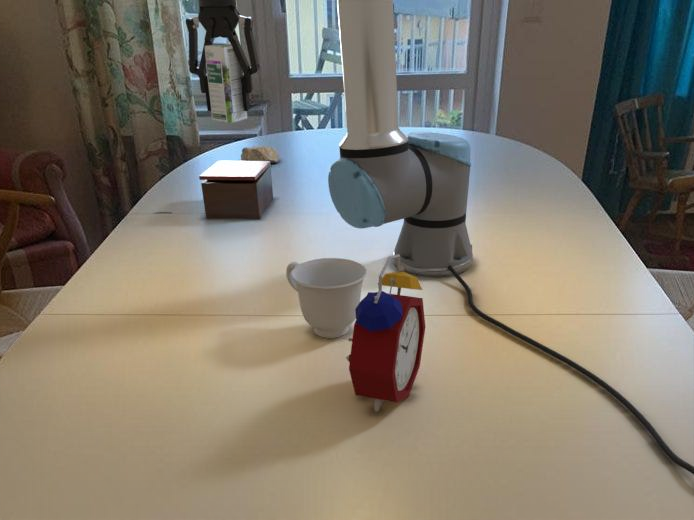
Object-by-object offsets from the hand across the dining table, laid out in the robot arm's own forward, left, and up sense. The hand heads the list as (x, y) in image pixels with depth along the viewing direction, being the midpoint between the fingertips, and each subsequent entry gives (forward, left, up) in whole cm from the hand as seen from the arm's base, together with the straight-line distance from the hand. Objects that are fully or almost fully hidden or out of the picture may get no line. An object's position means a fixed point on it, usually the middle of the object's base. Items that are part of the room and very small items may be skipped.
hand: (229, 109), depth 160 cm
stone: (+42, +4, -22) cm, 48 cm away
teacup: (-61, -29, -22) cm, 71 cm away
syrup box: (0, 0, -2) cm, 2 cm away
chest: (+1, 0, -21) cm, 21 cm away
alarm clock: (-81, -40, -22) cm, 93 cm away
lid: (+1, 0, -13) cm, 13 cm away
